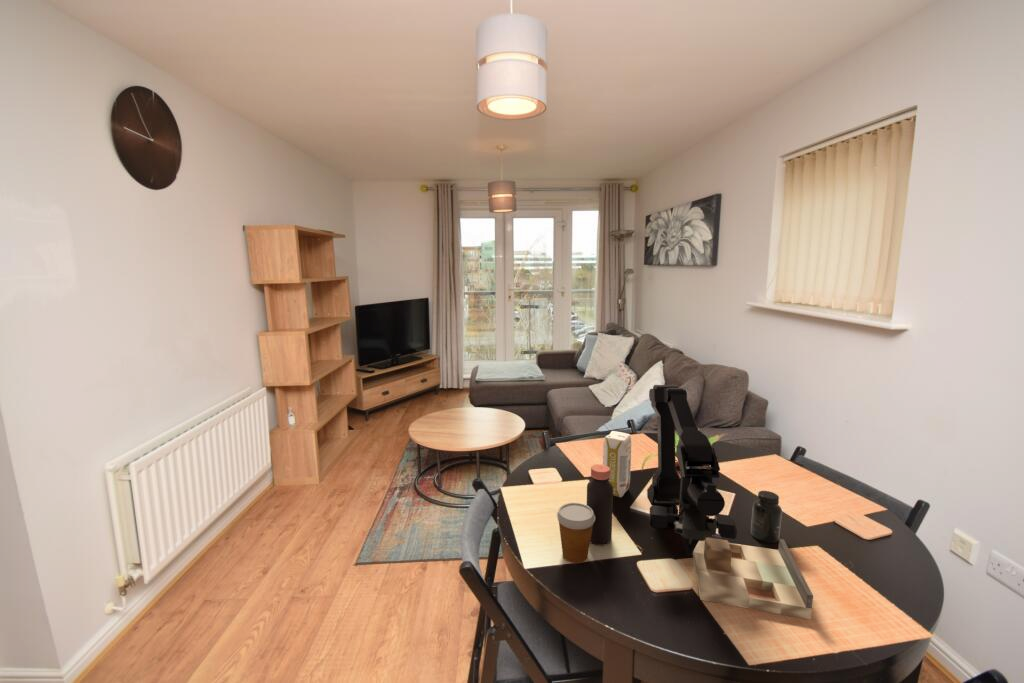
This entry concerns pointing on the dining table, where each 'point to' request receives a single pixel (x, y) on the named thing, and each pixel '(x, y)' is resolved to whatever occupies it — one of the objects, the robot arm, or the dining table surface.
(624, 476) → the juice carton
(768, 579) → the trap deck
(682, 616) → the dining table surface
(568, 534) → the disposable coffee cup
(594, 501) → the black water bottle
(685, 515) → the robot arm
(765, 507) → the supplement bottle
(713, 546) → the walnut block
